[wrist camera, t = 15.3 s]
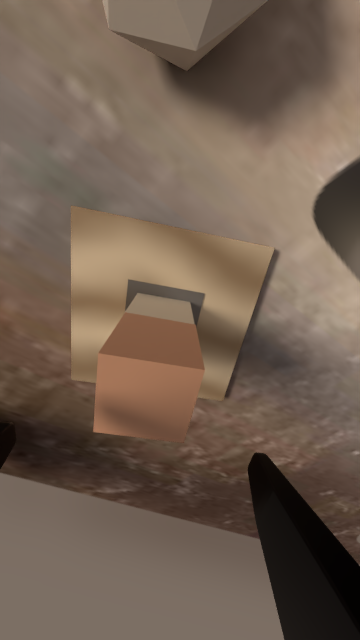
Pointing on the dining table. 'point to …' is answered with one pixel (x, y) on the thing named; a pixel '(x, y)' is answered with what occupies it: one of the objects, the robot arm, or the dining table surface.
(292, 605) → the robot arm
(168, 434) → the terracotta block
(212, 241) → the tan board
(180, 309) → the cream block
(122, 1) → the die
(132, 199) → the dining table surface
